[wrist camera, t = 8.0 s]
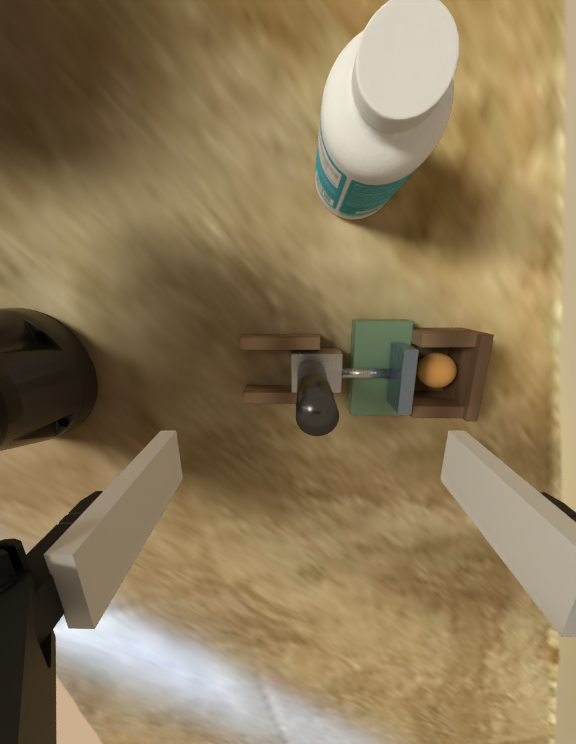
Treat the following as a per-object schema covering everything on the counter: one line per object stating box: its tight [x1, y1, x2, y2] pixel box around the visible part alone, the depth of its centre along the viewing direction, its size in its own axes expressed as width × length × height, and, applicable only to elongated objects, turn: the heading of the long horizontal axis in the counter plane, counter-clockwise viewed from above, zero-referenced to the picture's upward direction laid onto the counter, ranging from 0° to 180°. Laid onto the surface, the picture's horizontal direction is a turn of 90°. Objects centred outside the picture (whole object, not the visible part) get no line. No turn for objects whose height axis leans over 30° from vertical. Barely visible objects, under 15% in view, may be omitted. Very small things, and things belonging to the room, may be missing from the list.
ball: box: [417, 353, 457, 388], centre depth 28 cm, size 4×4×4 cm
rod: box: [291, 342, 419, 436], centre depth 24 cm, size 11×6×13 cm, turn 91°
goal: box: [409, 328, 494, 421], centre depth 28 cm, size 6×8×5 cm
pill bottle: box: [315, 0, 459, 220], centre depth 19 cm, size 8×7×14 cm
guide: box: [240, 334, 320, 404], centre depth 30 cm, size 8×7×2 cm
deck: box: [348, 319, 413, 416], centre depth 29 cm, size 6×10×2 cm, turn 1°
